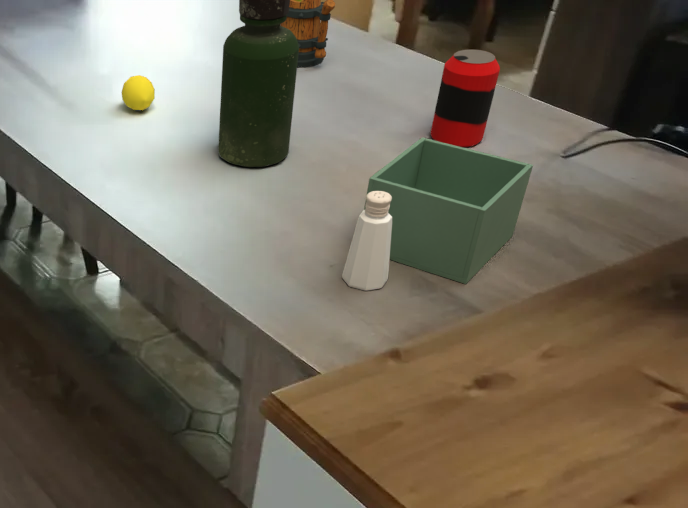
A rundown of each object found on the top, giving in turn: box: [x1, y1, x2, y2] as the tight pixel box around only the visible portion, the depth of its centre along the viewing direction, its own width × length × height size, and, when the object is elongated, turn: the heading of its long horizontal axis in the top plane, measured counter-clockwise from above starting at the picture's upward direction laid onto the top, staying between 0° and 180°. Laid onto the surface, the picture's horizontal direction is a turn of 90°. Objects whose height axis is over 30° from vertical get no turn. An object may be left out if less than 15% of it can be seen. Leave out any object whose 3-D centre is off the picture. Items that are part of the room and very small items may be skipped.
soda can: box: [429, 49, 501, 148], centre depth 136 cm, size 8×8×12 cm
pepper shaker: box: [341, 191, 392, 292], centre depth 108 cm, size 5×5×11 cm
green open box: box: [363, 136, 534, 285], centre depth 114 cm, size 14×14×10 cm
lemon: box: [121, 74, 156, 111], centre depth 152 cm, size 7×5×5 cm
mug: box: [280, 0, 336, 69], centre depth 163 cm, size 13×10×12 cm
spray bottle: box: [217, 0, 299, 168], centre depth 131 cm, size 10×10×25 cm
